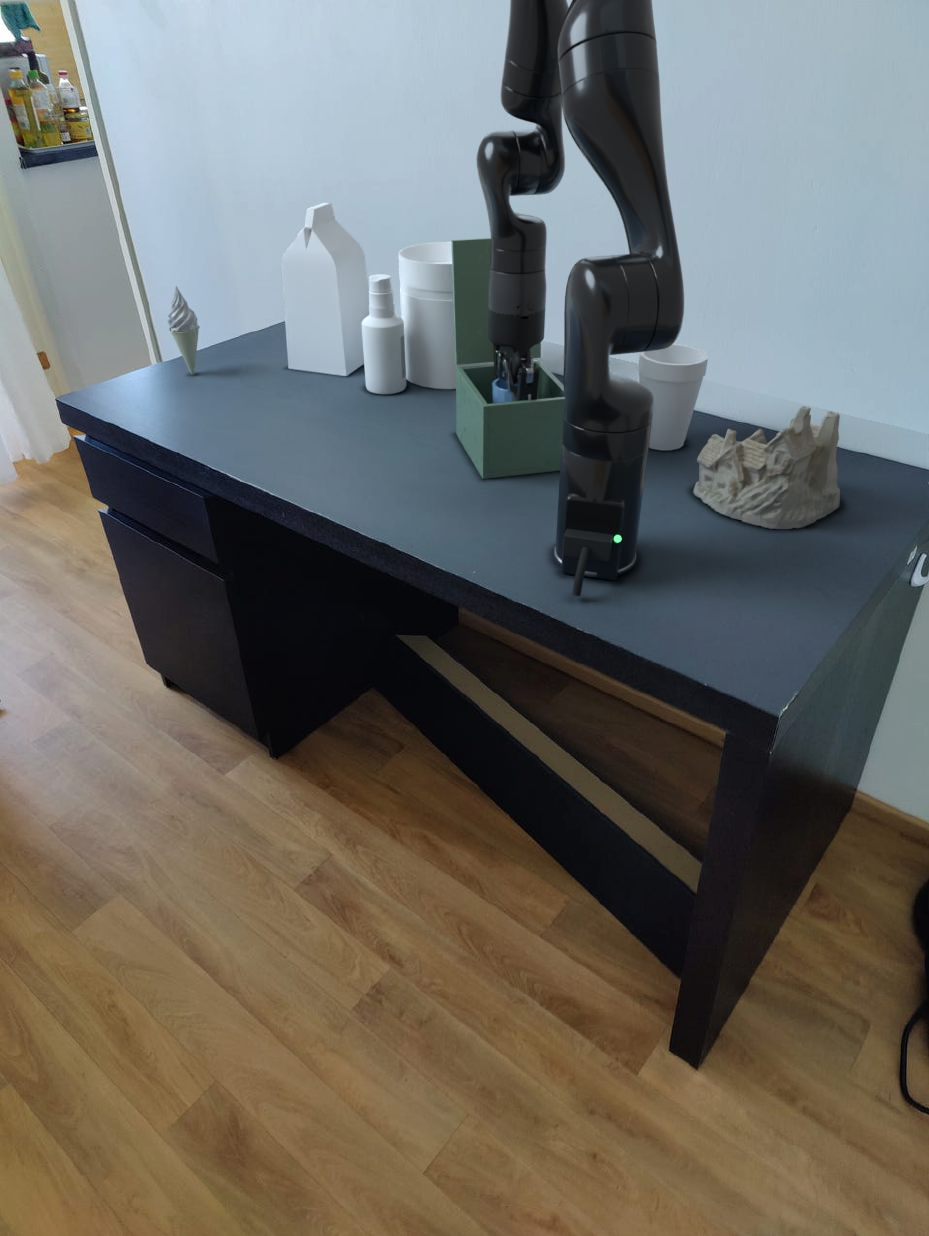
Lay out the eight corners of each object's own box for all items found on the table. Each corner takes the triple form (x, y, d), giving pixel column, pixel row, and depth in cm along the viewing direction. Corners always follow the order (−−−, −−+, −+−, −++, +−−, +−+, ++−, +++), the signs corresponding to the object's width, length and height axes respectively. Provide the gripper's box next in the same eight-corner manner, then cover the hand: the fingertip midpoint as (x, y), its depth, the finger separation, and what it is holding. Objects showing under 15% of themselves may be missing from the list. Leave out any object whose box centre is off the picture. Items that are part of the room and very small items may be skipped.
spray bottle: (414, 385, 150) (410, 274, 140) (390, 397, 145) (384, 284, 135) (382, 378, 153) (375, 269, 143) (357, 390, 148) (349, 278, 138)
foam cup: (694, 457, 126) (708, 367, 118) (628, 452, 127) (638, 362, 120) (693, 431, 133) (707, 345, 126) (631, 426, 135) (641, 341, 128)
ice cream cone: (194, 367, 158) (178, 280, 149) (213, 373, 155) (198, 284, 147) (171, 375, 155) (154, 286, 146) (190, 381, 152) (174, 291, 144)
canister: (508, 382, 151) (511, 259, 140) (419, 394, 147) (415, 267, 135) (475, 353, 164) (476, 238, 152) (392, 364, 159) (386, 246, 148)
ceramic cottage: (858, 505, 113) (880, 390, 105) (768, 543, 106) (784, 424, 98) (764, 468, 124) (776, 362, 116) (677, 501, 118) (684, 390, 110)
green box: (570, 469, 123) (575, 397, 117) (482, 479, 120) (483, 406, 114) (536, 426, 135) (539, 360, 129) (456, 434, 133) (455, 367, 127)
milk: (346, 376, 154) (333, 214, 139) (288, 368, 157) (269, 209, 143) (376, 355, 163) (366, 201, 148) (321, 348, 167) (306, 197, 152)
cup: (528, 445, 122) (531, 392, 118) (487, 440, 124) (487, 388, 120) (538, 429, 127) (540, 378, 123) (497, 424, 129) (498, 374, 124)
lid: (542, 235, 121) (531, 232, 125) (452, 240, 118) (444, 236, 123) (540, 357, 129) (530, 350, 133) (456, 364, 126) (448, 357, 131)
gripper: (475, 292, 120) (475, 410, 130) (504, 321, 109) (501, 448, 118) (528, 288, 122) (524, 405, 131) (562, 316, 110) (554, 443, 120)
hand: (513, 425), depth 125 cm, fingers closed on cup, 6 cm apart
